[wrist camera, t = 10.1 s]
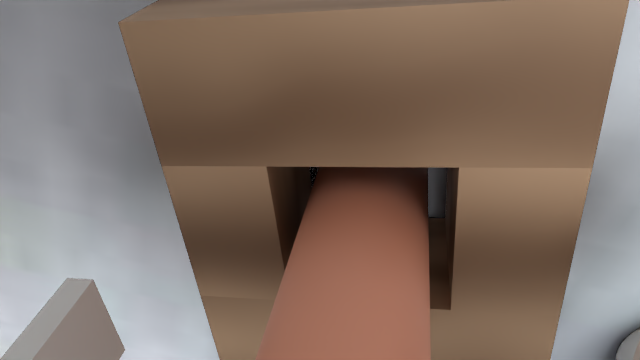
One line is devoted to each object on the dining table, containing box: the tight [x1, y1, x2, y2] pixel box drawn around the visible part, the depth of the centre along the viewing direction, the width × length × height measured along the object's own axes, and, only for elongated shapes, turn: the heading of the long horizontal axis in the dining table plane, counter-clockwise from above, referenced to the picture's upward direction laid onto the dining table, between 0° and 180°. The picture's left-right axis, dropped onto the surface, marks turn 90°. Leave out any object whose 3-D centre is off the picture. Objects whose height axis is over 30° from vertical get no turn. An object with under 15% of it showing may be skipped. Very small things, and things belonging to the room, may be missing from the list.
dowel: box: [255, 167, 431, 360], centre depth 14 cm, size 4×4×14 cm
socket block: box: [118, 0, 629, 360], centre depth 19 cm, size 18×12×5 cm, turn 5°
